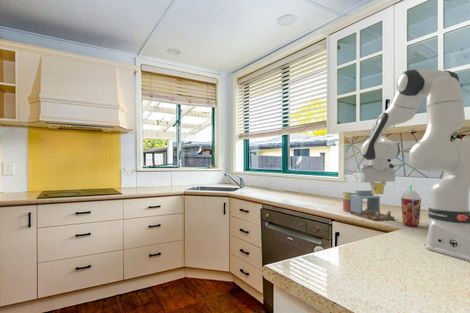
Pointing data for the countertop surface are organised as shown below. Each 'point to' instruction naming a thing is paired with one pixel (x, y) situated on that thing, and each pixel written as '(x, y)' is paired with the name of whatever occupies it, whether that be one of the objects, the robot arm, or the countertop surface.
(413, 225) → the smoothie
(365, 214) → the peg board
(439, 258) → the countertop surface
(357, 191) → the cover
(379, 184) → the yellow block
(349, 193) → the canned food
